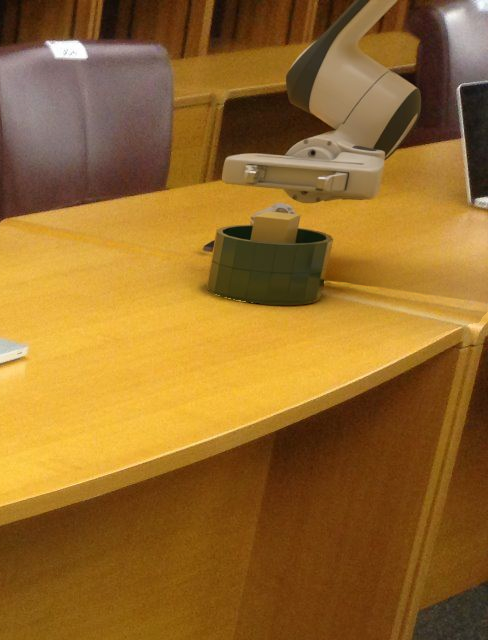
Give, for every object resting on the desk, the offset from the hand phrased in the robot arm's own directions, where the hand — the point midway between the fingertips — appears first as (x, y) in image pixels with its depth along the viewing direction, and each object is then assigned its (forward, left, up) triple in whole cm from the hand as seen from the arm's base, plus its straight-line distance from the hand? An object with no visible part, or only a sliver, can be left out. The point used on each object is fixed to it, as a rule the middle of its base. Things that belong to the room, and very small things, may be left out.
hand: (285, 181), depth 204 cm
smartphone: (+9, -26, -15) cm, 31 cm away
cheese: (0, 0, -14) cm, 14 cm away
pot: (0, 0, -15) cm, 15 cm away
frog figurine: (+10, -34, -15) cm, 38 cm away
